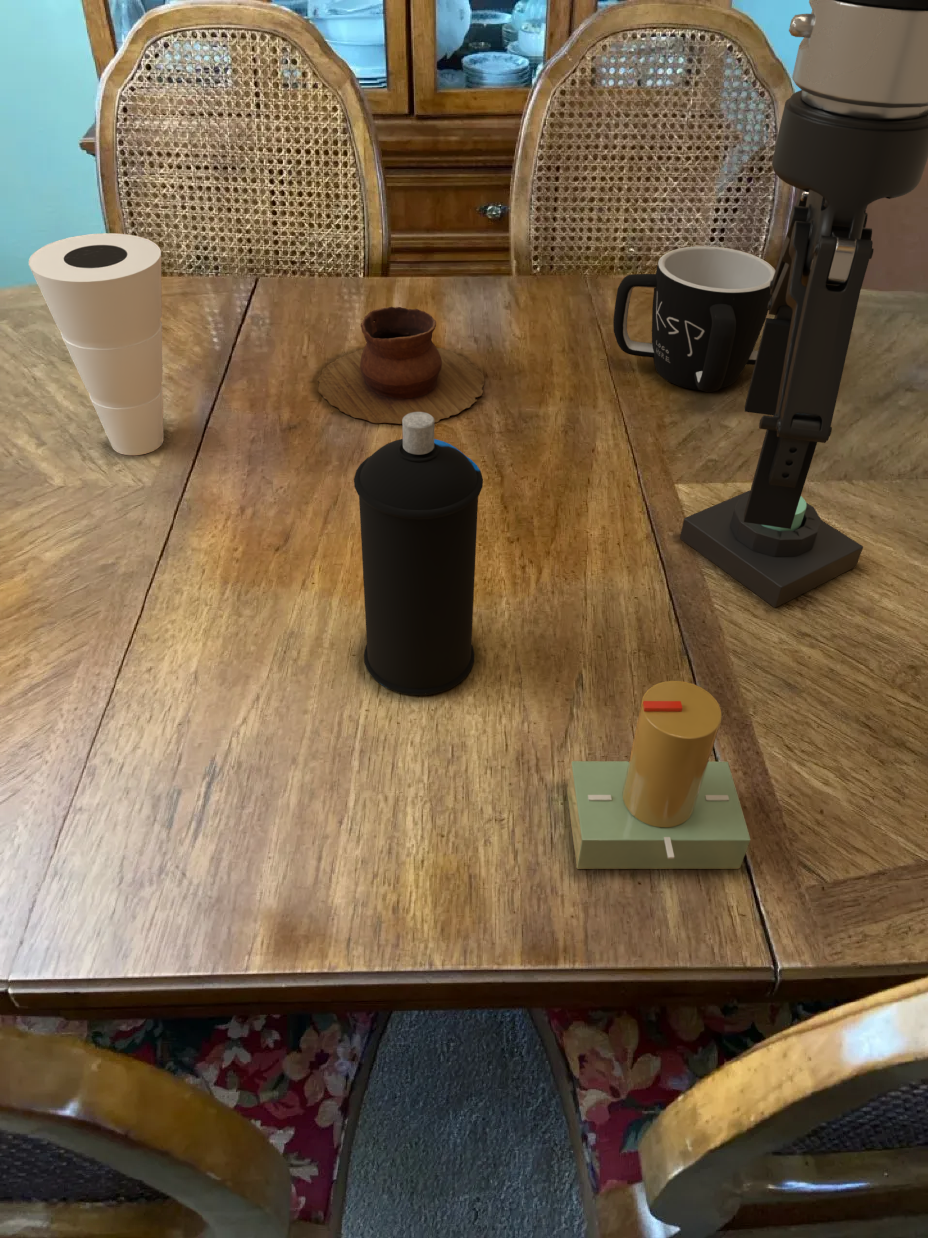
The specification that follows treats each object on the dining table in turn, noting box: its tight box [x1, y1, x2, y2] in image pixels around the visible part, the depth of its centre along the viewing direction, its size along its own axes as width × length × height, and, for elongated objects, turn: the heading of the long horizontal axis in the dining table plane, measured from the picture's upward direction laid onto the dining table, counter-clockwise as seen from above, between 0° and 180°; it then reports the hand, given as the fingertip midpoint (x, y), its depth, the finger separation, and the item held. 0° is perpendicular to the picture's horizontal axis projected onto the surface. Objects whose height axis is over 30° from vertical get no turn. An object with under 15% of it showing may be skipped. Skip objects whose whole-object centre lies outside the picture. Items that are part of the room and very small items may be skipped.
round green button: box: [762, 495, 807, 531], centre depth 80 cm, size 4×4×2 cm
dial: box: [622, 680, 723, 828], centre depth 56 cm, size 4×4×8 cm
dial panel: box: [566, 760, 752, 870], centre depth 60 cm, size 10×9×3 cm
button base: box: [679, 489, 864, 609], centre depth 81 cm, size 11×10×4 cm
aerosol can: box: [353, 412, 484, 696], centre depth 65 cm, size 8×8×20 cm
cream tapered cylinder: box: [28, 232, 164, 456], centre depth 87 cm, size 11×11×18 cm
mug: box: [612, 245, 776, 393], centre depth 103 cm, size 16×16×12 cm
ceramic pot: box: [316, 306, 486, 425], centre depth 101 cm, size 18×18×7 cm
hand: (765, 462), depth 62 cm, fingers open, 13 cm apart
